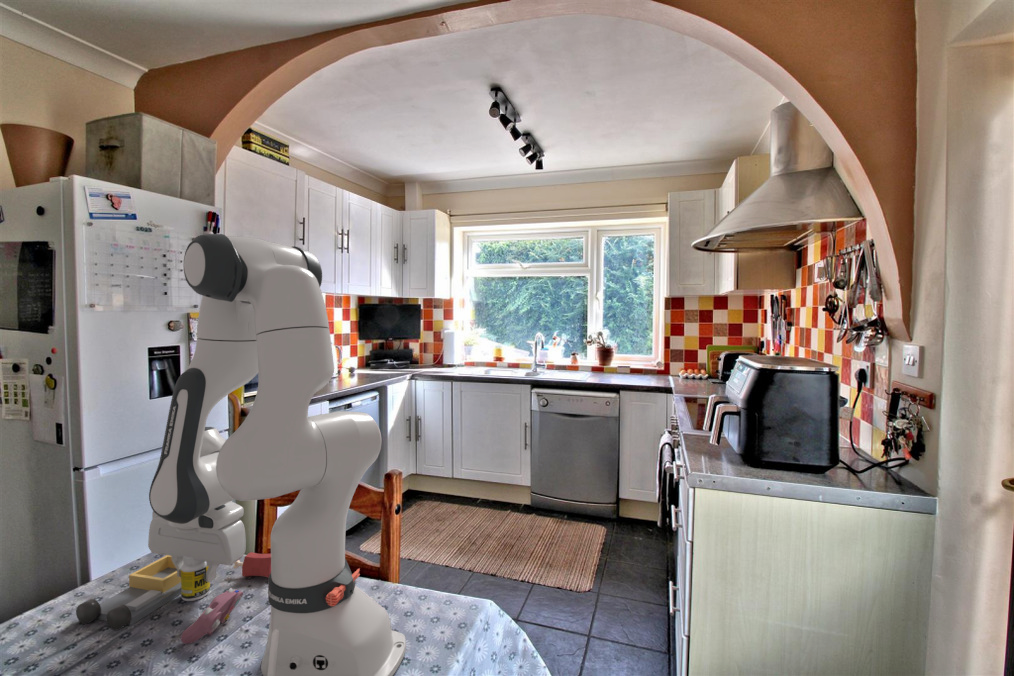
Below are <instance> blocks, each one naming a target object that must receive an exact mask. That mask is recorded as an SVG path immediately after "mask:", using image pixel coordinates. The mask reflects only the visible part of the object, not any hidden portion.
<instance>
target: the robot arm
mask: <svg viewBox="0 0 1014 676" xmlns="http://www.w3.org/2000/svg"><path fill="white" fill-rule="evenodd" d="M183 274H184V278H185V280H186V283H187V284H188V286H189V287H190V288H191V289H192V290H193V291H194V292H195V293H196V294H198V295H199V296H202V298H201V301H200V306H199V313H198V317H197V328H196V345H195V350H194V353H193V356H192V359H191V361H190V363H189V365H188V367H187V369H186V370H185V371H184V372H182V373H181V374H180V375H179V376H178V378H177V380H176V381H175V382H176V383H175V386H174V389H173V391H172V396H171V401H170V406H169V411H168V414H167V415H168V416H167V421H166V425H165V431H164V437H163V441H162V442H163V443H162V448H161V452H160V458H159V461H158V465H157V468H156V470H155V473H154V476H153V479H152V481H151V484H150V486H149V493H148V499H149V500H148V501H149V504H150V507H151V509H152V514H151V515H152V518H151V519H152V520H151V521H150V524H149V529H148V540H147V541H148V542H147V544H148V549H149V551H150V552H151V553H153V554H159V555H164V556H166V555H169V556H172V562H173V564H174V565H175V567H176V569H177V576H178V577H181V567H182V565H183V557H190V558H193V559H194V560H199V561H205V562H206V566H209V568H208V570H207V571H206V572H204V573H202V577H203V581H205V582H210V583H212V582H213V581H215V580H216V578H217V570H218V568H219V566H220V565H225V566H231V565H234V562H236V561H238V560H241V559H242V558H243V557H244V556H245V553H246V545H247V544H246V543H247V542H246V529H245V525H244V523H243V521H242V520H241V518H242V517H243V516H244V513H245V512H244V507H243V506H242V505H240V504H238V503H236V502H234V500H236V501H239V502H244V501H246V502H247V501H258V500H266V499H275V498H278V497H281V496H284V495H287V494H290V493H294V492H296V491H297V492H298V491H299V492H298V495H297V496H296V498H295V499H294V501H293V502H292V503H291V505H289V506H288V507H287V508H286V509H285V510H284V511H283V512H282V513H281V514H280V515H279V516H278V517H277V519H276V520H275V521H274V523H273V526H272V529H271V533H270V554H271V573H270V575H269V577H268V583H267V584H268V588H267V597H268V603H269V605H270V615H269V616H270V617H269V627H268V635H267V641H266V644H265V650H264V654H263V656H262V659H261V663H260V664H261V665H260V671H261V674H262V676H394V674H395V673H396V671H397V670H398V669H399V667H400V665H401V663H402V661H403V660H404V656H405V654H406V650H407V644H406V643H407V641H406V636H405V634H403V633H401V632H399V631H396V630H393V628H392V624H391V618H390V615H389V613H388V611H387V609H386V608H385V607H383V606H382V605H380V603H378V602H377V601H375V599H374V598H373V597H372V596H369V595H368V594H367V593H366V592H364V591H363V590H362V589H361V588H360V587H358V585H356V580H357V579H358V578H359V577H360V575H361V574H360V571H361V570H360V569H361V568H357V569H356V571H354V572H353V573H352V571H351V568H350V565H349V563H348V561H347V559H346V533H347V532H346V529H347V527H346V526H347V519H348V518H347V517H348V514H349V509H350V505H351V503H352V500H353V496H354V494H355V493H356V489H357V488H358V486H359V484H360V482H361V480H362V478H363V477H364V475H365V474H366V472H367V471H368V470H369V468H370V467H371V466H372V465H373V464H374V462H376V460H378V457H379V455H380V452H381V449H382V439H383V438H382V434H381V430H380V427H379V425H378V423H377V422H376V420H375V419H374V418H373V417H372V416H371V415H370V414H368V413H366V412H363V411H362V412H361V411H351V410H349V411H343V410H338V411H333V412H328V413H321V414H318V415H310V416H309V406H310V403H311V400H312V399H313V397H314V395H315V394H316V393H317V392H318V391H319V392H320V391H321V390H322V389H323V388H324V387H325V386H326V385H327V384H329V382H330V381H331V380H332V378H333V375H334V371H335V365H334V363H335V362H334V355H333V349H332V348H333V347H332V340H331V332H330V325H329V317H328V312H327V307H326V303H325V300H324V296H323V294H322V290H321V285H322V283H323V270H322V266H321V263H320V260H319V259H318V258H317V256H316V255H315V254H314V253H312V252H310V251H308V250H307V249H304V248H302V247H298V246H295V245H294V246H289V245H285V244H283V243H277V242H272V241H268V240H264V239H262V238H255V237H248V236H247V237H246V236H234V235H233V236H232V235H231V236H230V235H228V236H227V235H225V234H222V233H208V234H200V235H197V236H195V237H194V238H193V239H192V240H191V241H190V242H189V243H188V245H187V247H186V248H185V251H184V257H183ZM256 376H258V382H257V383H258V384H257V390H256V395H255V398H254V401H253V404H252V406H251V408H250V410H249V413H248V414H247V416H246V417H245V419H244V420H243V422H242V423H241V425H240V426H239V427H238V428H237V429H236V430H235V431H234V432H233V433H232V434H231V435H230V436H229V437H227V439H226V438H224V437H223V436H222V435H221V434H220V432H219V430H218V428H216V427H212V426H206V425H207V419H208V417H209V414H210V413H211V411H212V410H213V408H214V407H215V406H216V405H217V404H218V403H219V402H220V401H222V400H223V399H224V398H225V397H226V396H228V395H230V394H231V393H232V392H234V391H236V390H238V389H239V388H241V387H243V386H245V385H246V384H248V383H249V382H250V381H252V380H253V379H254V378H255V377H256Z"/></svg>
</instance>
